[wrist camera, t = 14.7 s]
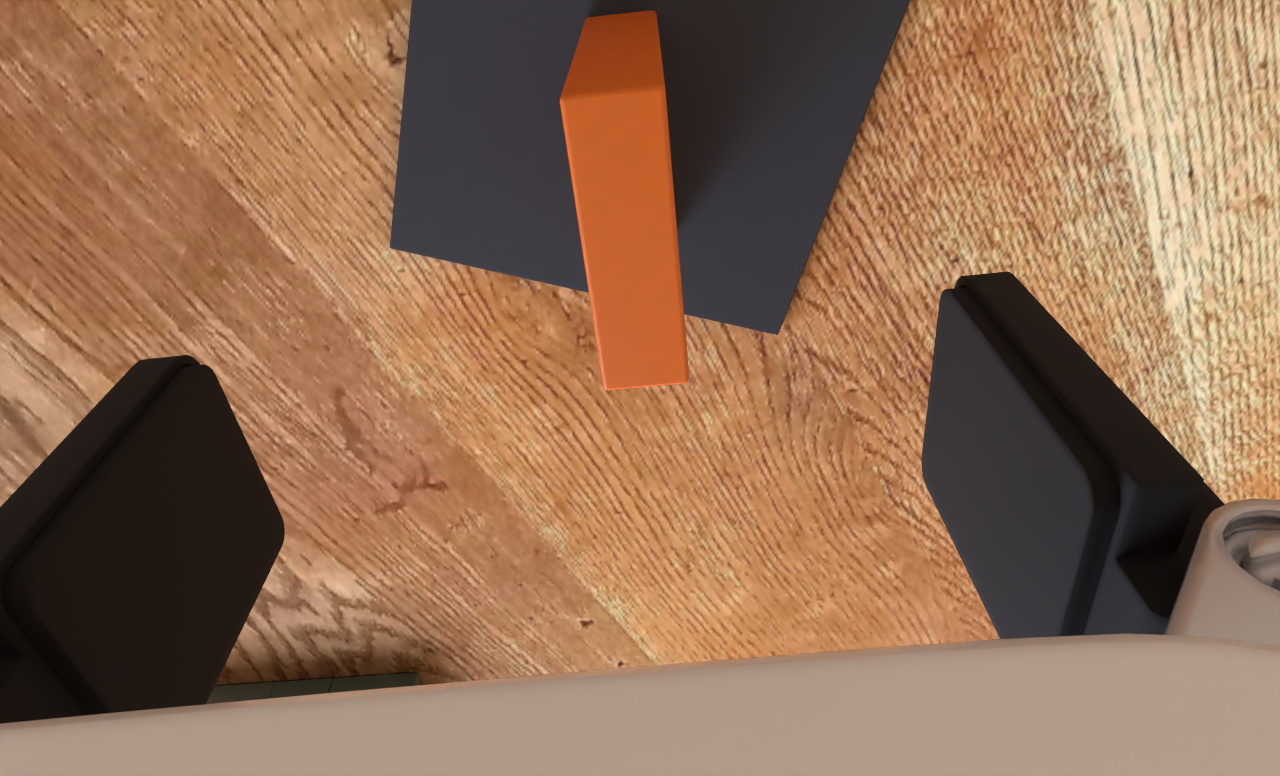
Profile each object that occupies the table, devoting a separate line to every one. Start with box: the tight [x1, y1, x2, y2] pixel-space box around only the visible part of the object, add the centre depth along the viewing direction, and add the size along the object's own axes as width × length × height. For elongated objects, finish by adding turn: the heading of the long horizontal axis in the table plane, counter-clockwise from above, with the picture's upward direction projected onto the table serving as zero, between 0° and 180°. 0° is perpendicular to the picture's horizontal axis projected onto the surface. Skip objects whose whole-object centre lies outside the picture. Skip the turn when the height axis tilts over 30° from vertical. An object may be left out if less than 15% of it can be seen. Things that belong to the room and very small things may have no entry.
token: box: [560, 10, 689, 390], centre depth 19 cm, size 2×6×8 cm, turn 6°
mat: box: [390, 0, 910, 335], centre depth 22 cm, size 12×10×1 cm
